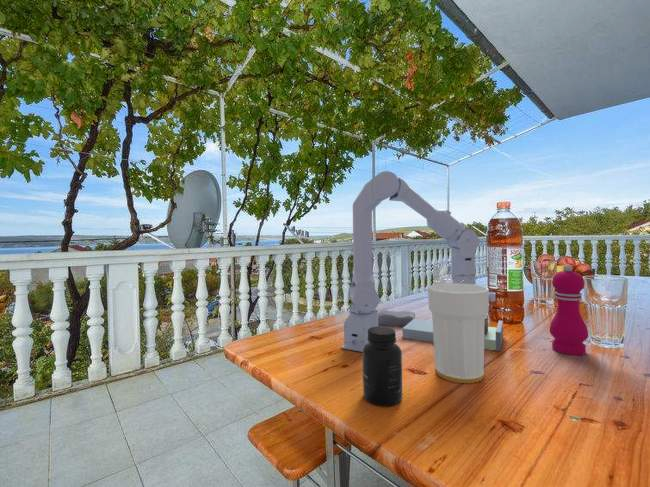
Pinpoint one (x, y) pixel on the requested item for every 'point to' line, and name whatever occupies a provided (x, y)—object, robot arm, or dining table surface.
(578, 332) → the pepper mill
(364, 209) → the robot arm
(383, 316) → the stone block
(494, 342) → the board
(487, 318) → the walnut cube
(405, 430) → the dining table surface
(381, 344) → the supplement bottle
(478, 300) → the cup
